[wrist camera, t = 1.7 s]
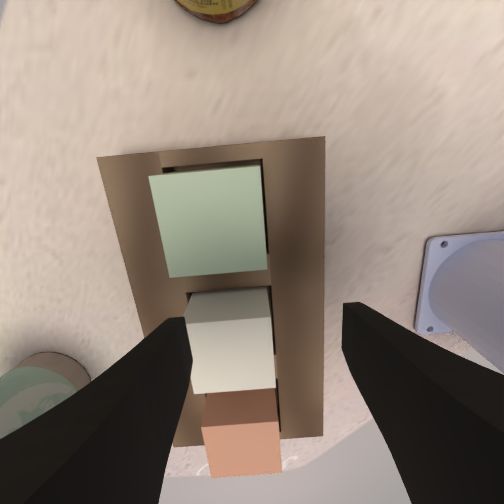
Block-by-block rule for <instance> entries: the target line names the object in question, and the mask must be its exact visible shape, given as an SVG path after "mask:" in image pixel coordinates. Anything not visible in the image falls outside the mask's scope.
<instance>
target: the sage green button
mask: <svg viewBox="0 0 504 504" xmlns="http://www.w3.org/2000/svg"><path fill="white" fill-rule="evenodd" d="M148 177H149V182H150V187H151V191H152V196H153V201H154V206H155V210H156V215H157V220H158V225H159V230H160V234H161V239H162V244H163V249H164V253H165V258H166V263H167V268H168V272H169V277H170V278H174V277H185V276H197V275H209V274H221V273H232V272H244V271H256V270H267V256H266V242H265V229H264V215H263V201H262V187H261V173H260V166H259V165H246V166H235V167H224V168H213V169H202V170H191V171H180V172H171V173H165V174H159V175H153V176H148Z"/></svg>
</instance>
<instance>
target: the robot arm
mask: <svg viewBox="0 0 504 504" xmlns="http://www.w3.org/2000/svg"><path fill="white" fill-rule="evenodd" d="M443 241H444V244H443V245H442V246H440V244H441V243H442V242H443ZM428 327H429V328H428ZM427 328H428V329H427ZM415 331H416V332H417V333H418V334H420V335H425V334H437V333H450V332H455V333H456V334H457V335H458V336H460V337H461V338H462V339H463V340H464V341H466V342H467V343H468V344H469V345H470V346H472V347H473V348H474V349H475V350H476V351H478V352H479V353H480V354H481V355H482V356H484V357H485V358H486V359H487V360H488V361H490V362H491V363H492V364H493V365H494V366H496V367H497V368H498V369H499V370H500V371H502V372H503V373H504V231H497V232H485V233H473V234H462V235H450V236H439V237H432V238H430V239H429V240H428V242H427V244H426V251H425V258H424V265H423V272H422V279H421V286H420V293H419V300H418V307H417V314H416V321H415ZM342 351H343V354H344V356H345V359H346V362H347V365H348V367H349V370H350V373H351V375H352V377H353V379H354V381H355V383H356V385H357V387H358V389H359V391H360V393H361V395H362V396H363V398H364V400H365V402H366V404H367V406H368V408H369V410H370V412H371V414H372V416H373V418H374V419H375V422H376V423H377V425H378V427H379V429H380V431H381V433H382V435H383V437H384V439H385V441H386V443H387V445H388V448H389V450H390V452H391V454H392V457H393V459H394V461H395V464H396V466H397V468H398V471H399V473H400V476H401V478H402V481H403V483H404V486H405V488H406V490H407V493H408V496H409V498H410V501H411V503H412V504H504V375H502V374H500V373H498V372H495V371H493V370H490V369H488V368H486V367H483V366H481V365H478V364H477V363H474V362H472V361H470V360H467V359H465V358H463V357H461V356H458V355H456V354H454V353H452V352H450V351H448V350H446V349H444V348H442V347H440V346H438V345H436V344H434V343H432V342H430V341H428V340H426V339H424V338H422V337H421V336H419V335H417V334H415V333H413V332H411V331H410V330H408V329H406V328H404V327H403V326H401V325H399V324H397V323H396V322H394V321H392V320H391V319H389V318H387V317H385V316H384V315H382V314H380V313H379V312H377V311H375V310H374V309H372V308H370V307H368V306H367V305H365V304H363V303H361V302H352V303H343V321H342ZM192 364H193V357H192V352H191V347H190V342H189V337H188V332H187V327H186V322H185V317H184V316H183V317H171V318H167V319H166V320H165V321H164V322H162V323H161V324H160V325H159V326H158V327H157V328H156V329H154V330H153V331H152V332H151V333H150V334H149V335H148V336H147V337H145V338H144V339H143V340H142V341H141V342H140V343H139V344H137V345H136V346H135V347H134V348H133V349H132V350H131V351H129V352H128V353H127V354H126V355H124V356H123V357H122V358H121V359H120V360H118V361H117V362H116V363H115V364H113V365H112V366H111V367H110V368H108V369H107V370H106V371H105V372H103V373H102V374H101V375H99V376H98V377H97V378H95V379H94V380H93V381H91V382H90V383H89V384H87V385H86V386H84V387H83V388H82V389H80V390H79V391H77V392H76V393H74V394H73V395H71V396H70V397H68V398H67V399H65V400H64V401H62V402H61V403H59V404H58V405H56V406H54V407H53V408H51V409H50V410H48V411H46V412H45V413H43V414H42V415H40V416H38V417H37V418H35V419H33V420H32V421H30V422H29V423H27V424H25V425H24V426H22V427H20V428H19V429H17V430H15V431H13V432H12V433H10V434H8V435H6V436H5V437H3V438H1V439H0V504H158V503H159V498H160V493H161V488H162V483H163V478H164V473H165V468H166V465H167V461H168V457H169V453H170V449H171V446H172V443H173V439H174V436H175V432H176V429H177V426H178V422H179V419H180V416H181V412H182V409H183V405H184V402H185V398H186V395H187V391H188V388H189V383H190V377H191V371H192Z"/></svg>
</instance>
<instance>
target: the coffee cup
mask: <svg viewBox="0 0 504 504" xmlns="http://www.w3.org/2000/svg"><path fill="white" fill-rule="evenodd" d="M89 383H90V378H89V376H88V374H87V372H86V371H85V369H84V368H83V367H82V366H81V365H80V364H79V363H78V362H76V361H75V360H73V359H71V358H69V357H67V356H65V355H62V354H58V353H52V352H43V353H37V354H34V355H32V356H30V357H28V358H27V359H25V360H24V361H23V362H21V363H20V364H19V365H17V366H16V367H14V368H13V369H12V370H10V371H9V372H7V373H6V374H5V375H3V376H2V377H0V439H1V438H3V437H5V436H6V435H8V434H10V433H12V432H13V431H15V430H17V429H19V428H20V427H22V426H24V425H25V424H27V423H29V422H30V421H32V420H33V419H35V418H37V417H38V416H40V415H42V414H43V413H45V412H46V411H48V410H50V409H51V408H53V407H54V406H56V405H58V404H59V403H61V402H62V401H64V400H65V399H67V398H68V397H70V396H71V395H73V394H74V393H76V392H77V391H79V390H80V389H82V388H83V387H84V386H86V385H87V384H89Z"/></svg>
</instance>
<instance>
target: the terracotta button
mask: <svg viewBox="0 0 504 504" xmlns="http://www.w3.org/2000/svg"><path fill="white" fill-rule="evenodd" d="M201 430H202V435H203V439H204V444H205V449H206V454H207V458H208V463H209V468H210V473H211V477H212V478H218V477H230V476H244V475H258V474H271V473H282V465H281V451H280V437H279V423H278V414H277V405H276V397H275V388H266V389H253V390H241V391H228V392H215V393H207V396H206V401H205V407H204V413H203V419H202V424H201Z"/></svg>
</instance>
